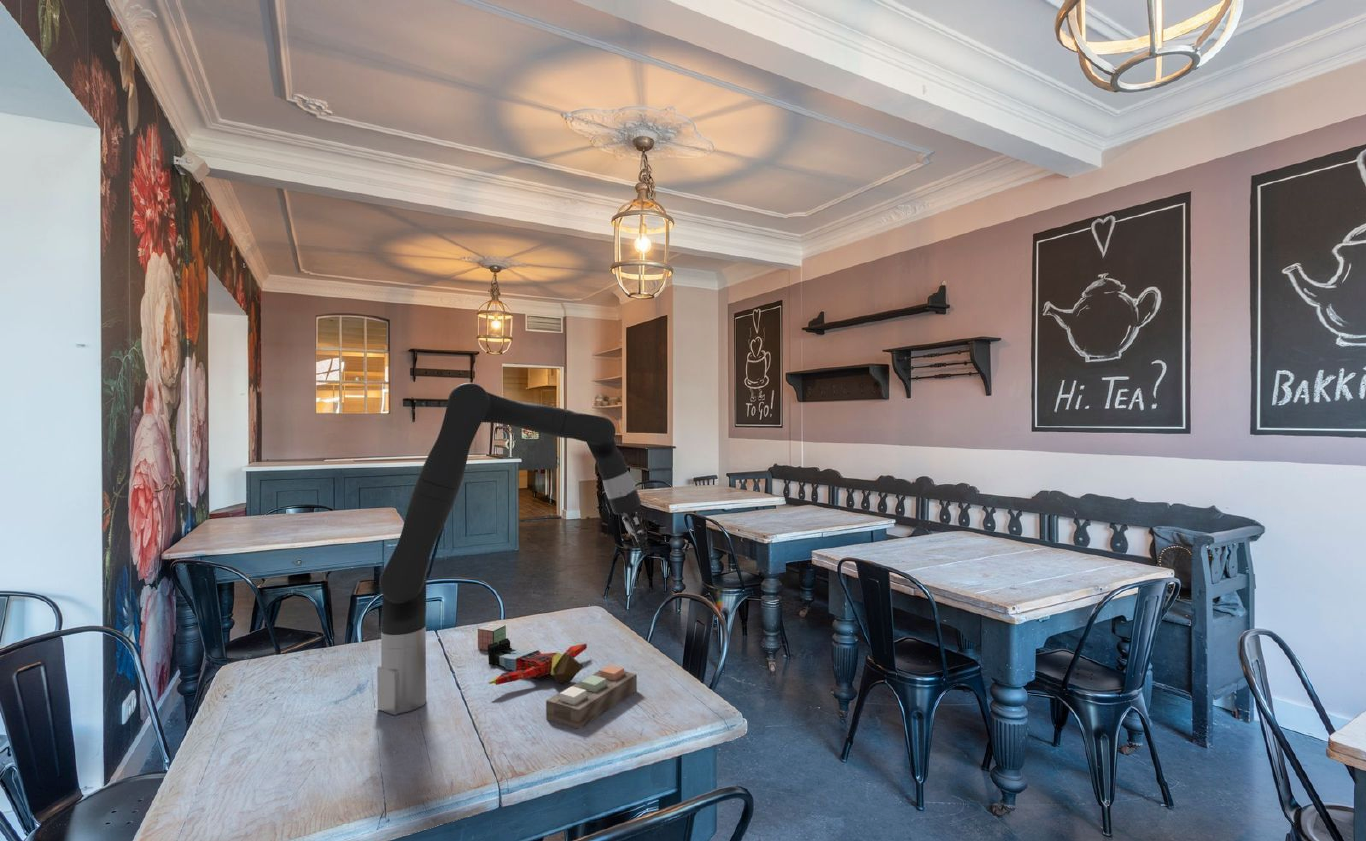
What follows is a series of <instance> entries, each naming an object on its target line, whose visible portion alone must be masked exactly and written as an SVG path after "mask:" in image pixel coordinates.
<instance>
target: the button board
mask: <svg viewBox="0 0 1366 841" xmlns="http://www.w3.org/2000/svg"><path fill="white" fill-rule="evenodd" d="M606 667H607V666H605V667H603V668H602V669H604V668H606ZM592 675H594V676H598V677H600V670H598V671H596V672H594V673H593V674H592ZM590 676H591V675H589V676H587V677H586V678H588V677H590ZM586 678H584V679H586ZM637 679H638V678H637V673H633V672H629V671H625V670H624V676H622V677H620V678H619V679H617V680H615V681H612V680H608V679H606V686H605V687H604V688H602V689H600V690H599V691H597V692H591V691H587V690H586V698H585V699H584V700H582V701H580V702H579V703H577V704H575V705H572V704H569V703H565V702H561V701H560V693H561V692H563V691H565V690H566V689H568V688H570V687H572V686H573V687H576V688H580V689H581V681H582V680H580V681H579V682H576V683H575V684H573V685H571V686H569V687H568V688H566V689H564V690H562V691H561V692H559V693H557V694H555V695H553V696H552V697H550V698H548V699H546V700H545V711H546V713H545V715H546V716H545V720H547V721H551V722H555V723H558V724H562V725H565V726H566V727H567V726H568V727H571V728H573V729H574V728H575V729H577V730H580V729H582V728H583V727H585V726H586V725H588V724H590V722H592V721H593V720H595V719H597V718H598V717H600V716H602V715H603V714H604V713H606V712H608V711H609V710H610V709H611V708H614V706H617V705H618V704H619V703H622V701H624V700H625V699H627V698H629V697H631V696H632V695H634V694H635V693H636V692H637V691H638V683H637V682H638V681H637Z"/></svg>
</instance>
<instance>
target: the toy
mask: <svg viewBox="0 0 1366 841" xmlns="http://www.w3.org/2000/svg"><path fill="white" fill-rule="evenodd" d="M587 648H588V646H587V643H582V644H577V645H572V646H570V647H568V649H567V650H566V651H565V652H564V653H561V652H558V651H557V652H549V653H548V652H547V653H541V651H540V650H539V649H537V650H531V649H514V648H512V646H511V640H509V638H508V637H506V639H504V640H501V641H499V644H498V643H497V642H495V643H492V644H489V645H488V650H487V658H488V664H489V665H491V666H493V665H498V666H502V667H503V668H504V669H505V670H509V671H508V672H507V671H506V672H502V673H501V674H500V675H499V676H496V677H495V678H493V679H491V680H490V681H489V682H488V684H489V685H491V684H495V685H496V686H498V685H502V684H508V683H512V682H516V681H519V680H522V679H527V678H534V677H537V678H540V677H543V676H545V675H549V674H550V676H551V677H553V678H554V679H555V681H557V682H558V683H559V684H563V685H569V683H571V682H572V680H574V677H575V676H576V675H577V674H579V672H580V671H581V670H582V668H583V665H582V664H581V663H580V662H579V661H578V660H577V659H575V658H576V657H577V656H579V655H580V654H582V653H583V652H584V651H585V650H586V649H587Z"/></svg>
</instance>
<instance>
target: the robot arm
mask: <svg viewBox="0 0 1366 841" xmlns="http://www.w3.org/2000/svg"><path fill="white" fill-rule="evenodd" d="M483 423H490V424H501V425H504V426H505V425H507V426H512V427H516V428H519V429H524V430H527V431H531V432H534V433H539V434H542V435H545V436H546V435H547V436H552V437H557V438H563V439H572V440H573V439H574V440H576V441H581V442H585V443H586V445H587V446H588V450H590V452H591V455H592V456H593V458H594V460H595V464H596V467H597V469H598V470H597V471H598V473H599V476H600V478H601V480H602V484H603V489H604V491H605V494H606V497H607V500H608V503H609V505H610V508H611V510H612V513H613V514H614V515H621V518H622V522H623V523H624V527H625V530H626V532H627V533H628V535H629V536H630V537H631V540H632V544H633V545H634V548H635V549H639V550H640V552H641V555H643V557H644V556H647V555H650V554H651V552H652V550H651V548H650V545H649V542H648V540H647V539H648V536H649V535H648V534H647V532H646V529H645V526H644V524H643V521H642V517H641V516H640V514H639V513H638V512H637V511H636V509H637V508H638V507H640V506H641V504H642V501H641V498H640V495H639V492H638V490H637V487H636V485H635V482H634V479H633V476H632V475H631V473H630V470H629V468H628V464H627V462H626V460H625V457H624V455H623V453H622V452H621V451H620V450H619V448H618V447H617V444H616V442H615V436H616V426H615V424H614V423H613V422H612V420H610V419H609V418H607V417H605V416H599V415H594V414H589V413H581V412H577V411H573V410H569V409H566V408H561V407H557V406H552V405H546V404H540V403H534V402H527V401H520V400H519V401H518V400H514V399H509V398H506V397H501V396H498V395H497V394H494V393H491V392H489V391H486V390H485V389H484V387H482V386H481V385H479V384H477V383H474V382H465V383H462V384H458V385H457V386H455V387H454V388H453V389H452V390H451V392H450V393H449V396H448V399H447V404H446V409H445V413H444V416H443V420H442V424H441V428H440V430H439V433H438V436H437V438H436V441H435V442H434V444H433V447H432V448H431V449H430V452H429V453H428V455H427V457H426V460H425V462H424V464H423V466H422V467H421V468H422V469H421V471H420V472H419V475H418V477H417V480H416V483H415V485H414V488H413V491H412V493H411V496H410V500H409V503H408V506H407V510H406V513H405V517H404V522H403V525H402V530H401V533H400V535H399V536H400V537H399V540H398V541H397V543H396V546H395V548H394V550H393V552H392V553H391V556H390V559H389V560H388V562H387V563H386V565H385V567H384V568H383V570H382V572H381V574H380V577H379V579H378V580H379V581H378V583H379V589H380V592H381V594H382V609H381V616H380V617H381V620H380V632H381V633H380V640H381V641H380V642H381V643H380V644H381V645H380V647H381V648H380V651H381V655H380V656H381V657H380V660H381V662H380V664H381V665H378V666H377V667H376V668H377V669H376V670H377V671H376V675H377V676H376V677H377V678H376V679H377V682H376V683H377V686H376V687H377V689H376V690H377V693H376V694H377V710H379V711H382V712H385V713H387V714H390V715H393V716H396V715H398V714H402V713H408V712H411V711H415V710H417V709H420V708H421V707H422V706H424V705H425V703H426V702H427V642H426V640H427V639H426V638H427V637H426V636H427V635H426V632H427V631H426V630H427V629H426V628H427V627H426V626H427V625H426V619H427V618H426V617H427V569H428V564H429V563H430V562H429V561H430V558H431V555H432V551H433V548H434V547H435V546H434V545H435V543H436V541H437V539H438V537H439V535H440V534H441V531H442V529H443V528H444V525H445V523H446V521H447V520H448V517H449V516H450V513H451V511H452V508H453V506H454V503H455V501H456V498H457V496H458V493H459V490H460V488H461V485H462V482H463V478H464V474H465V471H466V466H467V462H468V458H469V453H470V449H471V446H472V444H473V442H474V438H475V437H476V435H477V433H478V432H479V431H478V430H479V428H480V426H481V424H483Z"/></svg>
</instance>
